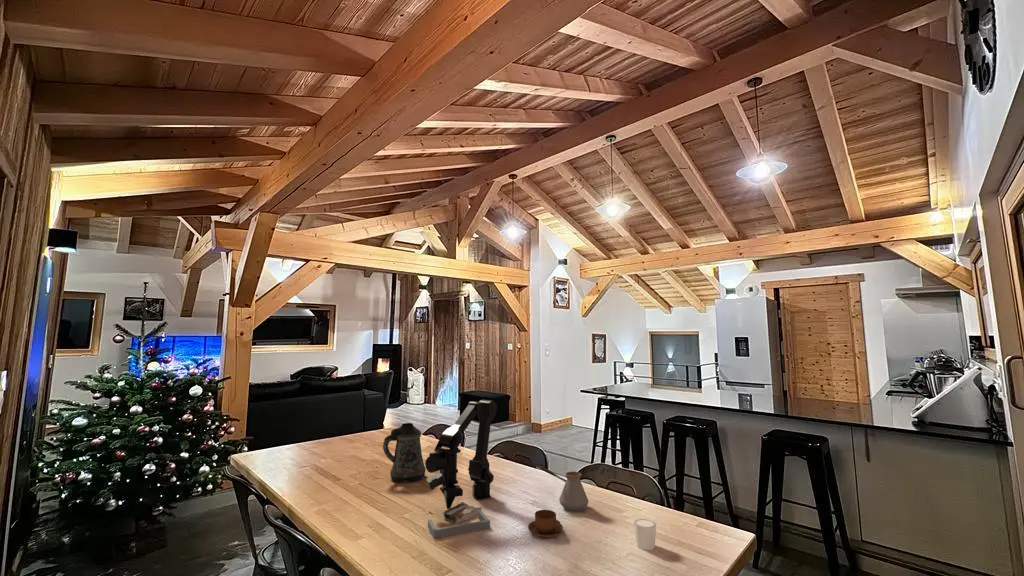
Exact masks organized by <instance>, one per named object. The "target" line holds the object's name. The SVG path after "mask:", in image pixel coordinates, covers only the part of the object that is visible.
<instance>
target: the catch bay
mask: <svg viewBox="0 0 1024 576" xmlns="http://www.w3.org/2000/svg"><path fill="white" fill-rule="evenodd" d="M478 520H479V521H474V522H468V523H462V524H456V525H450V526H445V527H443V526H442V527H436V525H435V523H434V522H433V519H428V520H427V529H428V530H429V533H430V535H431V536H432V538H433V539H436V538H442V537H449V536H455V535H459V534H465V533H470V532H471V533H472V532H476V531H483V530H489V529H491V521H490V519H489V518H488V516H487V515H485V513H484V512H483V511H482V510H481V511H480V512H479V514H478Z"/></svg>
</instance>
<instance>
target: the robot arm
mask: <svg viewBox="0 0 1024 576" xmlns="http://www.w3.org/2000/svg"><path fill="white" fill-rule="evenodd" d="M497 410H498V405H497V403H496V401H494V400H490V399H481V400H479V401H473V400H472V401H469V402H468V404H467V406H466V408H465V409H464V410H463V412H462V413H461V414H460V415H459V417H458V418H457V420H456V421H455V422H454V424H452V426H450V427H448V428H446V429H445V430H444V431H443V432H442V433H441V435H440V436H439V439H438V441H437V443H436V446H435V448H434V449H433V450H434V451H433V452H429V456H427V458H425V459H426V460H425V462H424V466H425V468H426V470H427V472H428V473H430V474H432V473H433V475H431V476H430V477H426V479H425V480H426V483H427V486H428V488H429V490H431V491H432V490H434V489H435V488H438V487H439V486H441V487H439V490H440V492H441V493H442V494H443V496H444V501H445V506H446V510H448V509H450V508H452V505H453V503H454V501H455V499H456V497H457V498H458V497H463V495H464V490H463V488H462V487H461V486H460V485H458V484H459V481H458V480H457V479H458V478H457V476H458V475H457V474H458V473H459V469H458V468H457V465H458V464H457V462H458V454H459V453H461V451H462V450H461V449H460V448H459V446H460V444H461V443H462V441H463V439H464V438H463V435H464V433H465V431H466V429H467V428H468V427H469V426H470V424H471V423H472V421H473V420H474V418H475V417H476V415H477V417H478V420H479V421H478V432H477V438H476V445H475V453H474V454H475V455H474V456H473V458H472V459H470V460H469V461H468V469H467V471H468V475H469V477H470V478H469V479H470V481H471V482H472V481H473V484H472V493H471V494H472V496H473V497H474V499H475V500H477V501H479V500H483V499H491V498H492V496H491V484H492V483H493V482H494V474H493V473H492V472H491V470H490V462H489V459H488V451H489V449H488V448H489V441H490V432H491V424H492V421H493V420H494V418H495V417H496V413H497ZM435 472H438V473H435ZM434 473H435V474H434ZM435 490H436V489H435Z"/></svg>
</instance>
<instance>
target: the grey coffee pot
mask: <svg viewBox="0 0 1024 576" xmlns="http://www.w3.org/2000/svg"><path fill="white" fill-rule="evenodd" d="M537 469H540V470H542V471H544V472H545V473H547V474H549V475H551V476H553V477H555V478H557V479H559V480H561V481H563V482H564V485H563V488H562V490H561V494H560V496H559V499H558V502H559V504H560V505H561V507H562V508H564V510H566V511H568V512H573V513H577V512H578V513H579V512H582V511H584V509H585V508H586V507H587V506H588V504H589V498H588V496H587V494H586V493H587V492H586V491H585V488H584V487H583V484H582V482H581V477H582V473H580V472H578V471H566V472H565V474H564V475H565V476H566V478H563V477H562V476H559V475H558V474H556V473H554V472H552V470H550V469H549V468H545V467H544V466H540V464H537V465H536V467H535V470H536V471H537Z"/></svg>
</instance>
